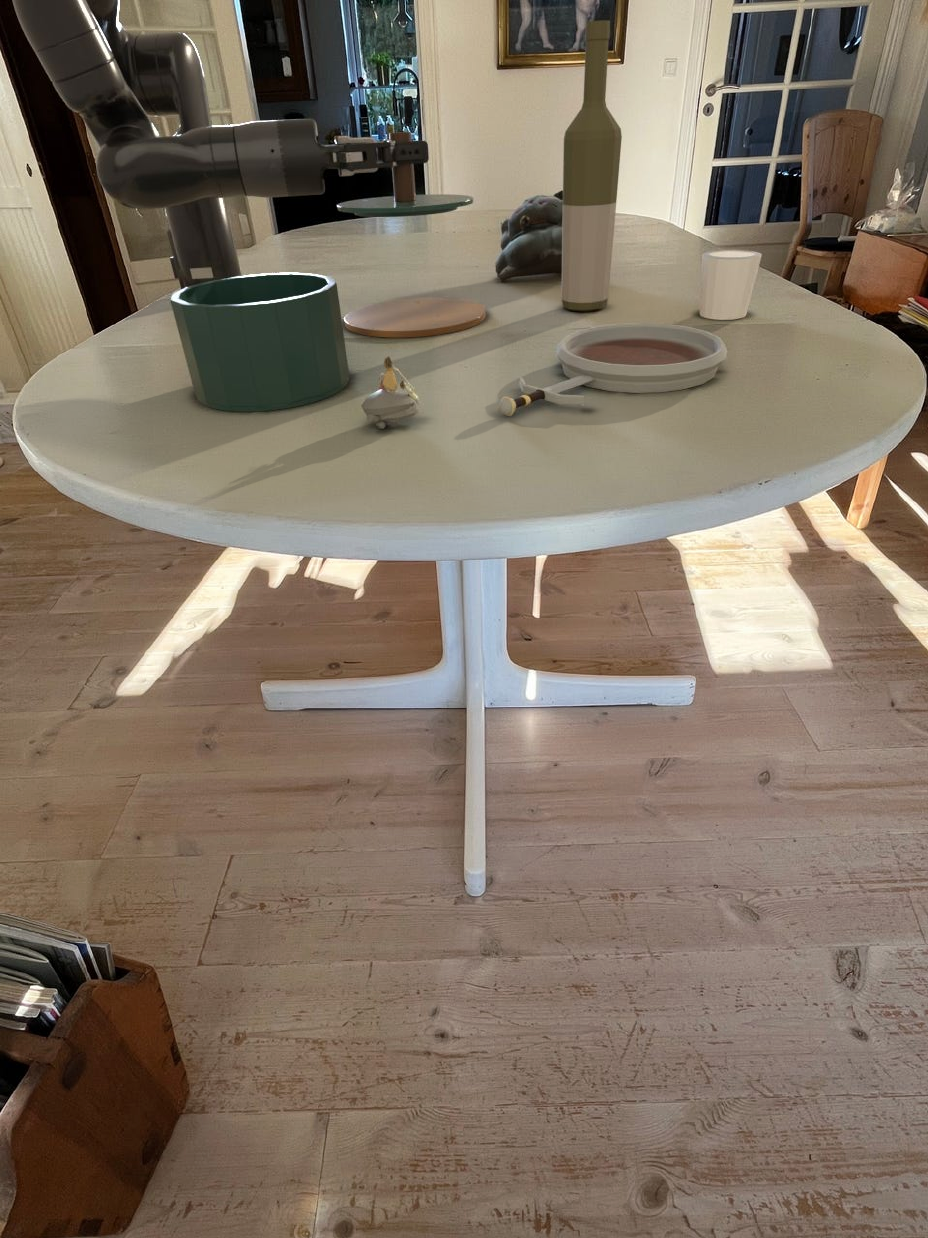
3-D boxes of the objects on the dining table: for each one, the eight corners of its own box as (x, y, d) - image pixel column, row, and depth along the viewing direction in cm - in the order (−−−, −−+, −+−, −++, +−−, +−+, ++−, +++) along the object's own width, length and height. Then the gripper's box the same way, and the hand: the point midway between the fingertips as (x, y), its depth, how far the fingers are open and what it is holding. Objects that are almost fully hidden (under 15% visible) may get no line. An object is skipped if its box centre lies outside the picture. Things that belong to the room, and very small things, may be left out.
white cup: (683, 312, 92) (690, 252, 88) (726, 305, 94) (735, 246, 90) (718, 323, 87) (728, 260, 83) (763, 315, 89) (774, 253, 85)
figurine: (366, 434, 62) (356, 364, 58) (362, 417, 65) (353, 350, 62) (425, 427, 63) (420, 357, 59) (418, 411, 66) (413, 344, 63)
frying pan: (439, 373, 68) (626, 311, 82) (441, 403, 69) (625, 337, 83) (573, 414, 57) (763, 335, 71) (572, 449, 59) (758, 365, 73)
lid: (310, 217, 86) (298, 137, 82) (390, 203, 98) (383, 132, 93) (426, 220, 79) (420, 131, 74) (497, 204, 91) (496, 127, 86)
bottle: (586, 316, 93) (601, 16, 75) (547, 309, 97) (553, 24, 80) (621, 306, 96) (643, 18, 79) (581, 299, 101) (594, 25, 83)
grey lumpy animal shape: (479, 282, 114) (476, 190, 112) (520, 300, 123) (517, 216, 122) (561, 256, 105) (558, 156, 103) (598, 278, 114) (596, 186, 113)
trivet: (315, 330, 94) (314, 323, 93) (397, 299, 107) (396, 294, 106) (437, 343, 85) (437, 336, 85) (510, 308, 99) (510, 302, 98)
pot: (164, 399, 73) (135, 299, 67) (270, 358, 83) (252, 269, 78) (279, 420, 66) (257, 311, 60) (378, 373, 77) (367, 277, 71)
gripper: (270, 119, 76) (431, 111, 78) (276, 120, 87) (417, 113, 89) (284, 200, 80) (436, 191, 82) (288, 192, 91) (421, 184, 93)
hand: (425, 151), depth 85 cm, fingers closed on lid, 2 cm apart
